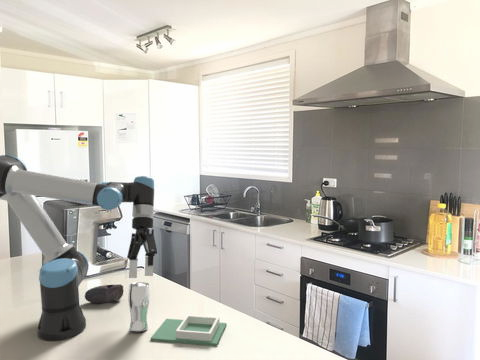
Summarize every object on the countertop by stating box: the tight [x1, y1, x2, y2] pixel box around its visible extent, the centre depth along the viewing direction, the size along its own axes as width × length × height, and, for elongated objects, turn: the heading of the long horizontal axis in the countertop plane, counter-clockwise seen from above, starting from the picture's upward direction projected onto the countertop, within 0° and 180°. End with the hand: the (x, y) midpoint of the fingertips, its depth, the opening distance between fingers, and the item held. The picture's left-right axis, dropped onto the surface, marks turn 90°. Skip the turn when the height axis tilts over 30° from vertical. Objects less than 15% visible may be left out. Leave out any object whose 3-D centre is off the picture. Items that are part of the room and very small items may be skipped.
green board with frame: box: [150, 314, 227, 347], centre depth 132 cm, size 22×14×3 cm, turn 79°
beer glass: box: [128, 281, 151, 333], centre depth 135 cm, size 7×7×15 cm
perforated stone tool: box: [84, 284, 124, 304], centre depth 158 cm, size 15×5×7 cm, turn 94°
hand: (140, 277), depth 140 cm, fingers open, 13 cm apart
